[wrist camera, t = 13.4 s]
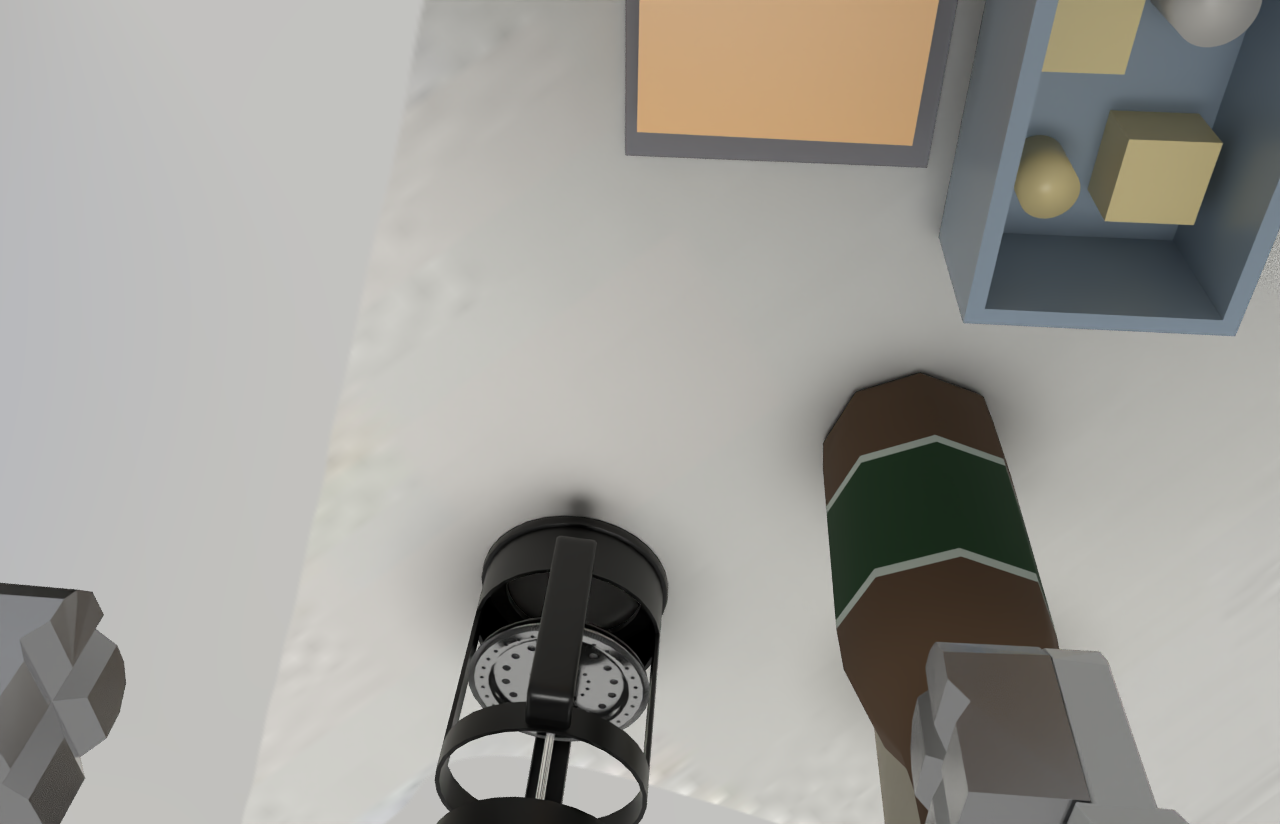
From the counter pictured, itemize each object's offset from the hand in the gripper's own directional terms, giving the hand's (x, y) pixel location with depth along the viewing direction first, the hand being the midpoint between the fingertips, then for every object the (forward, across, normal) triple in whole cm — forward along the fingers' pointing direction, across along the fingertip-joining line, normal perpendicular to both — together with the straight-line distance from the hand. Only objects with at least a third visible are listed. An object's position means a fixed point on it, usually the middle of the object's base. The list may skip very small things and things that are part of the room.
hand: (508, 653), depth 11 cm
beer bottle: (+31, -11, +22) cm, 40 cm away
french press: (+31, +4, +32) cm, 45 cm away
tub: (+31, -15, +5) cm, 35 cm away
